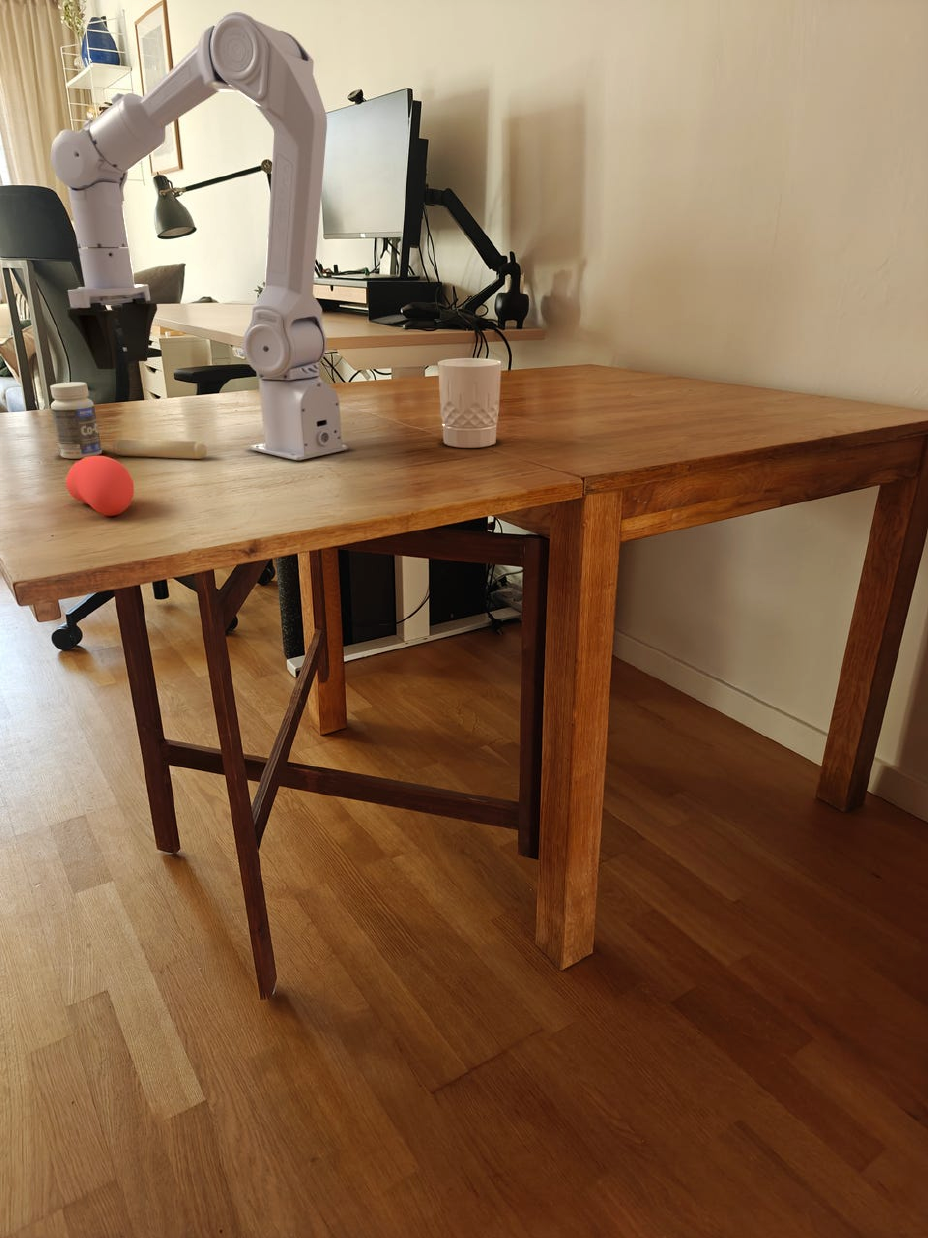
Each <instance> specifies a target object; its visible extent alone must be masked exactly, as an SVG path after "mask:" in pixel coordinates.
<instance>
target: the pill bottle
mask: <svg viewBox="0 0 928 1238" xmlns="http://www.w3.org/2000/svg"><path fill="white" fill-rule="evenodd" d="M49 386H50V387H49V388H50V393H51V397H52V399H54V400H53V401H52V402H51V404H50V411H51V415H52V420H53V425H54V432H55V435H56V440H57V446H58V450H59V451H58V452H59V454H60V457H62V458H63V459H71V460H75V459H76V460H82V459H83V458H86V457H91V456H100V455H101V454H102V453H103V448H102V443H101V438H100V437H101V436H100V432H99V426H98V421H97V419H98V418H97V413H96V409H95V408H96V407H95V404H94V402H93V400H92V399H90V398H88V397H89V396H90V394H89V393H90V391H89V388H88V383H86V382H79V381H75V382H74V381H73V382H61V383H54V384H51V385H49Z"/></svg>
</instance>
